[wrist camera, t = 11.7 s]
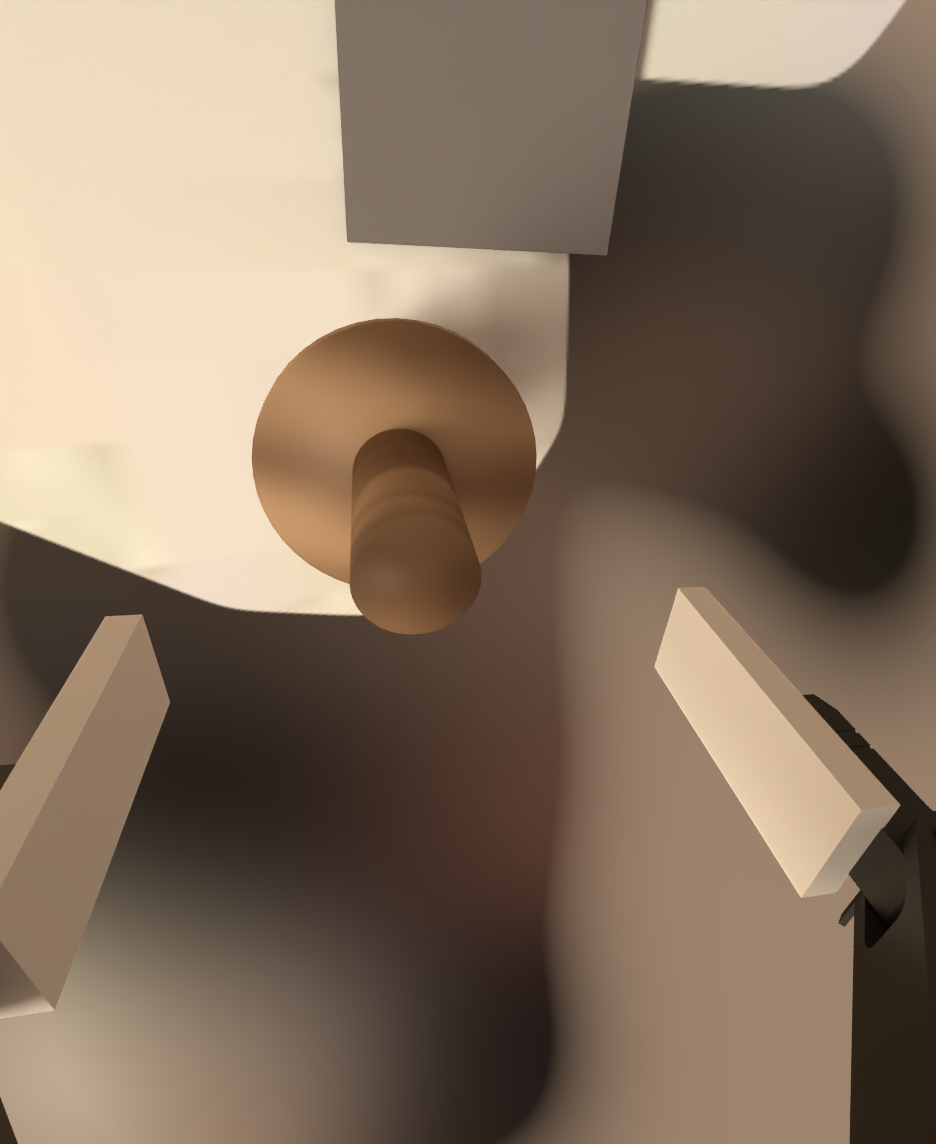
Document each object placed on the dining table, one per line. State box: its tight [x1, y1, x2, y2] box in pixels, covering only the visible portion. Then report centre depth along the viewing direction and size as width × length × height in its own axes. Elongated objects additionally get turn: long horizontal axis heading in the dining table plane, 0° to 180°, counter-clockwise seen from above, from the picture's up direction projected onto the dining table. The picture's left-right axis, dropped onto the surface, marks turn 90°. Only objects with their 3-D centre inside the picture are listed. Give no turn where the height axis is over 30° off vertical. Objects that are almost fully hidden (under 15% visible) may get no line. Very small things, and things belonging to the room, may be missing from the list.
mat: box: [335, 0, 647, 255], centre depth 29 cm, size 15×15×1 cm
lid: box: [252, 318, 536, 634], centre depth 21 cm, size 12×12×10 cm
